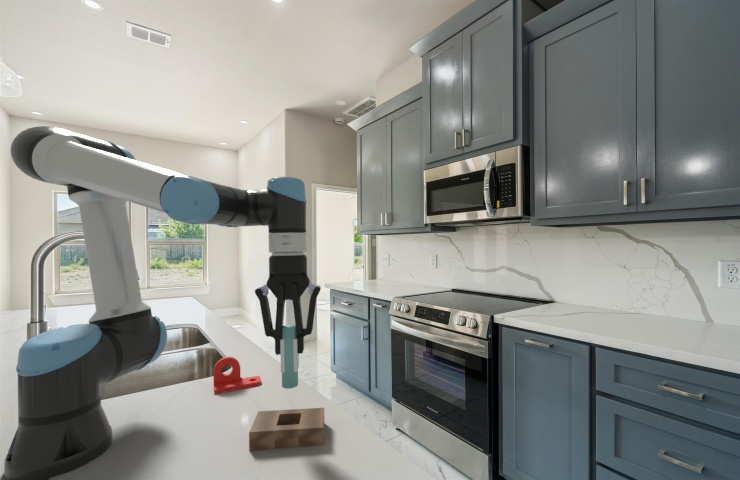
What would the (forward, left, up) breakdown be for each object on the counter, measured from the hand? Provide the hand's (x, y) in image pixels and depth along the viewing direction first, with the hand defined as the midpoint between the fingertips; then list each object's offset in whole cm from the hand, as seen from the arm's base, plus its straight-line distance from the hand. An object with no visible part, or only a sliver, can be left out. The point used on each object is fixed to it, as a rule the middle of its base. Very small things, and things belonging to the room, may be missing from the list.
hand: (290, 369), depth 71 cm
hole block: (0, 0, -14) cm, 14 cm away
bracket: (-18, +27, -14) cm, 35 cm away
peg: (0, 0, -3) cm, 3 cm away
